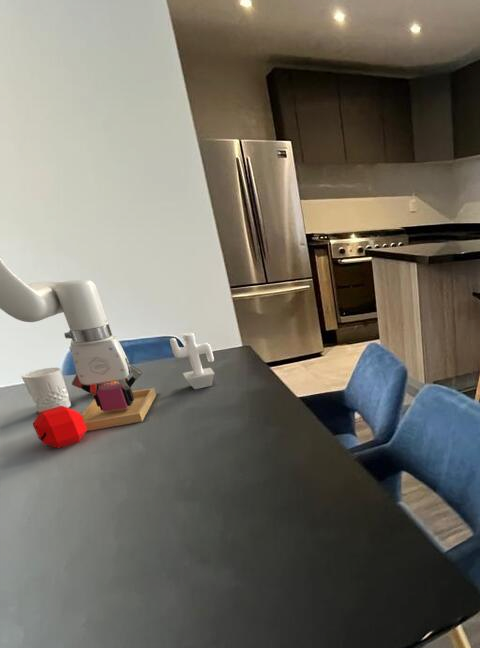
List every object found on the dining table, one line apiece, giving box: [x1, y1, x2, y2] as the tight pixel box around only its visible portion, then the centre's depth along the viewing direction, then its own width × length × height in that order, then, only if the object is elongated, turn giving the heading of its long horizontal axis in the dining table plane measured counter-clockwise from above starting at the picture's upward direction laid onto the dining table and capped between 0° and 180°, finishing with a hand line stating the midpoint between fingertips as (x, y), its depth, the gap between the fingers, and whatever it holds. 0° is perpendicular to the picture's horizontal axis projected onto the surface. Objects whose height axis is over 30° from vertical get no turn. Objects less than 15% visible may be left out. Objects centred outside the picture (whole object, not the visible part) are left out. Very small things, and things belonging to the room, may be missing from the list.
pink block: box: [97, 383, 128, 411], centre depth 121 cm, size 5×5×5 cm
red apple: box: [32, 406, 88, 449], centre depth 106 cm, size 8×8×8 cm
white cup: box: [21, 367, 72, 413], centre depth 126 cm, size 8×8×10 cm
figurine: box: [169, 331, 215, 390], centre depth 136 cm, size 7×9×15 cm
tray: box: [80, 387, 157, 432], centre depth 122 cm, size 14×20×2 cm
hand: (117, 405), depth 122 cm, fingers closed on pink block, 4 cm apart
